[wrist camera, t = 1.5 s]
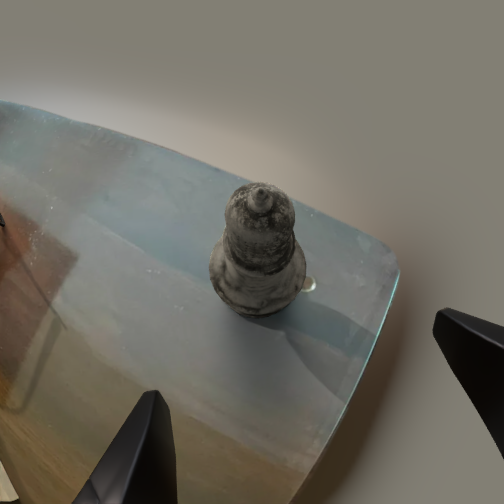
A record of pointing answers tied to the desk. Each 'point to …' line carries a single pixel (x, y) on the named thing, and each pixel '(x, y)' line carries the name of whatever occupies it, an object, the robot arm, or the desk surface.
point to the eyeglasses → (2, 221)
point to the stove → (6, 487)
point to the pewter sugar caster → (258, 252)
